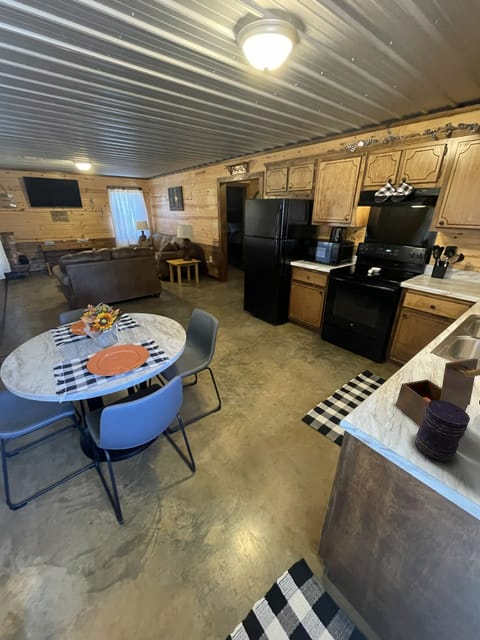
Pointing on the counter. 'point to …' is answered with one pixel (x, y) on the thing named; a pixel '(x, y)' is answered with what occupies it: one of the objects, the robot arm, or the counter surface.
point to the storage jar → (441, 431)
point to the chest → (418, 398)
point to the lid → (459, 381)
